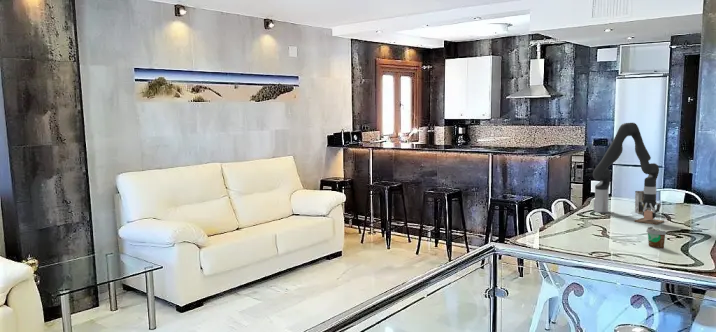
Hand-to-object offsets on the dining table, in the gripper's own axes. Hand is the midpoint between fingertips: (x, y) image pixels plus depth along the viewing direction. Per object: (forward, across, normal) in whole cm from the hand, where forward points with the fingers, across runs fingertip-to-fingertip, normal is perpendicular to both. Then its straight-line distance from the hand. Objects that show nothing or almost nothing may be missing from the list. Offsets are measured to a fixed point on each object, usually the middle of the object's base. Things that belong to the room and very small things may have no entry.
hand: (649, 217), depth 363 cm
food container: (+3, +28, -63) cm, 69 cm away
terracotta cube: (+1, 0, 0) cm, 1 cm away
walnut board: (+3, 0, 0) cm, 3 cm away
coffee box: (+3, -16, +28) cm, 32 cm away
